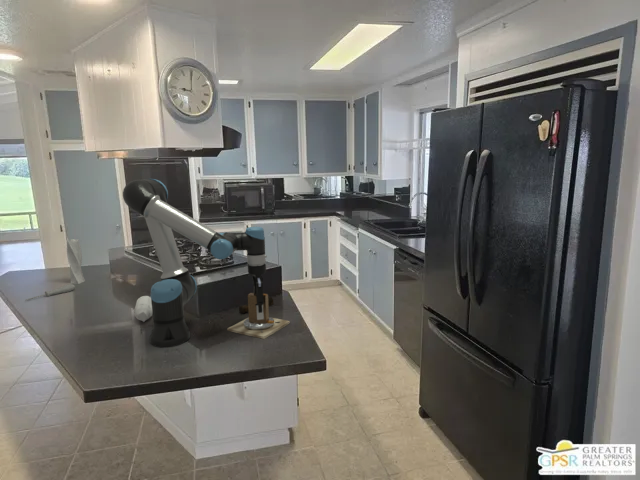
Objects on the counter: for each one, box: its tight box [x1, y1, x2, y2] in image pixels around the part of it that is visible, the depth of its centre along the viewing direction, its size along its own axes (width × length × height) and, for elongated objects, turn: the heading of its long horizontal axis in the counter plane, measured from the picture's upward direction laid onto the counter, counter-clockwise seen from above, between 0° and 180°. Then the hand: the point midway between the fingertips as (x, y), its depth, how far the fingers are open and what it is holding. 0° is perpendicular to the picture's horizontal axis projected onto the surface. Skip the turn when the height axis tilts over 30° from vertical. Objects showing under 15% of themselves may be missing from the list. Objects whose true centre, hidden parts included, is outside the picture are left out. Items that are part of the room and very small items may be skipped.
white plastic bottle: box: [133, 295, 153, 323], centre depth 196 cm, size 8×19×8 cm, turn 18°
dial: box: [244, 292, 274, 330], centre depth 182 cm, size 13×13×14 cm
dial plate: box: [226, 317, 291, 340], centre depth 184 cm, size 19×19×1 cm
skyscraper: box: [66, 236, 86, 285], centre depth 256 cm, size 8×8×28 cm
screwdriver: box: [25, 283, 76, 301], centre depth 233 cm, size 5×25×4 cm, turn 143°
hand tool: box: [238, 296, 274, 315], centre depth 207 cm, size 19×4×5 cm, turn 131°
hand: (259, 316), depth 183 cm, fingers closed on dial, 5 cm apart
